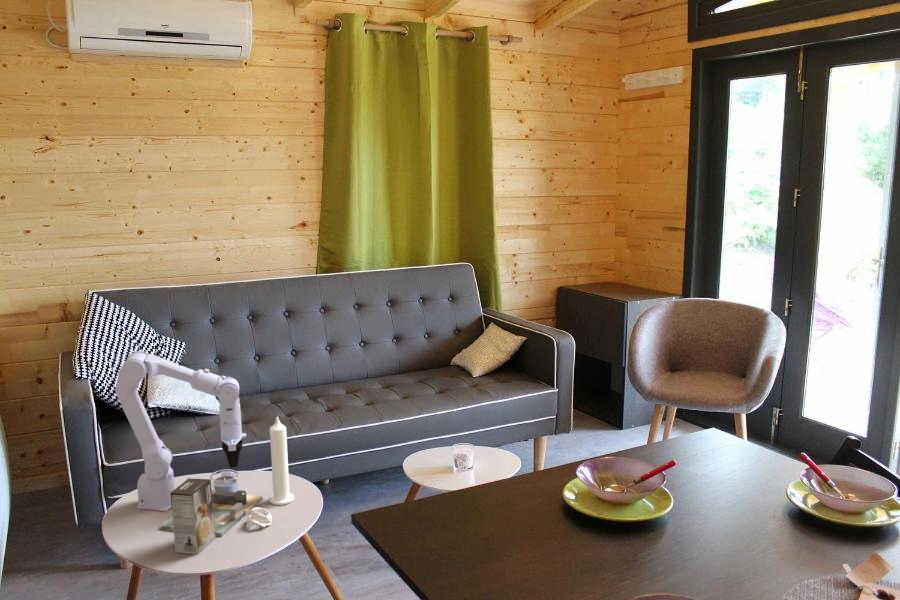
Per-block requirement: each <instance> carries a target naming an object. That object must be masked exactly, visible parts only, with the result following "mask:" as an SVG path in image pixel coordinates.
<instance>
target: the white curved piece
mask: <svg viewBox="0 0 900 600" xmlns="http://www.w3.org/2000/svg"><path fill="white" fill-rule="evenodd" d="M249 514H250V515H248V517H247V521H246V529H247V530H249V529H250V527H251V526H253V525H257V526H260V527H261V528H266V526H268V527H269V526H271V525H272V518H273V517H272V514H271V512H269V511H268V510H267V508H263V507H260V506H259V507H256V506H255V507H254V508H253V509H252V510H251V511H250V512H249Z"/></svg>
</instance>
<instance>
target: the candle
mask: <svg viewBox="0 0 900 600" xmlns="http://www.w3.org/2000/svg"><path fill="white" fill-rule="evenodd" d="M287 436H288V435H287V427H286V425H284V424H283V423H282V422H281V421H280V419H279V416H276V417H275V421H274V424H273V425H272V426H270V427H269V438H270V440H269V441H270V455H271V458H270V459H271V474H272V475H271V476H272V477H271V479H272V493H273V494H272V495H271V496H270V497H268V502H269V504H271V505H274V506H285V505H288V504H291V503H292V502H293V501H294V500H295V495H294V494H293V493H291V492H290V475H289V473H290V472H289V459H288V457H289V455H288V440H287V438H288V437H287Z"/></svg>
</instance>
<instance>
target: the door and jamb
mask: <svg viewBox="0 0 900 600" xmlns="http://www.w3.org/2000/svg"><path fill="white" fill-rule="evenodd" d="M246 499H247V503H246V504H244V505H243V503H236V504H226V503H216V502H213V514H214V526H215V537H223V536H224V535H225V534H226V533H228V531H230V530H231V529H232V528H233V527H234V526H235V525H236V524H237V523H239V522H240V521H241V520H242V519H243V518H245V516H246V515H248V514H249V513H250V512H251V511H252V509H253V508H256V506H257V505H259V503H261V502H262V501H263V496H262V495H261V496H260V495H253V494H246ZM159 527H160V530H162V531H163V530H164V531H172V532H174V528H173V517H172V516H171V517H170V518H169V519H167V520H166V521H164V523H162V524H161V525H160V526H159Z"/></svg>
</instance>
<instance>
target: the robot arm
mask: <svg viewBox="0 0 900 600" xmlns="http://www.w3.org/2000/svg"><path fill="white" fill-rule="evenodd" d="M117 374H118V375H117V380H116V384H115V389H114V390H115V395H116V397H117V398H118V402H119V403H120V405H121V408H122V410H123V412H124V414H125V416H126V419H127V420H128V423H129V424H130V427H131V429H132V431H133V433H134V436H135V437H136V440H137V442H138V444H139V446H140V448H141V453H142V454H141V455H142V456H141V457H142V459H143V462H144V473H142V474H141V475H140V476H139V478H138V479H137V485H136V486H137V487H136V488H137V498H138V505H137V506H136V508H137V509H142V510H152V511H161V512H168V511H169V510H170V509H172V506H171V495H170V493H171V492H172V491H173V490H175V489H176V487H175V478H174V477H175V475H174V469H173V468H172V467H171V463H172V461H173V453H172V451H171V450H170V449H169V448H168V447H166V445H165V444H164V442H163V441H162V439H160V438H159V436H158V434H157V432H156V429H155V427H154V425H153V423H152V420H151V418H150V415H148V413H147V410H146V408H145V405H144V404H143V401H142V399H141V397H140V394H139V393H138V391H137V387H138V385H139V384H140V382H141V381H142V380H143V379H144V378H145V377H146V375H147V374H148V376H147V378H149V379H150V378H152V377H155V376H159V375H162V376H166V377H169V378H172V379H176V380H179V381H182V382H186V383H189V385H190V386H191V388H192V389H193V390H195V391H199V392H202V393H205V394H208V395H211V396H213V397H217V398H218V401H219V407H218V410H219V424H220V425H219V426H220V441H221V449H222V450H223V452H224V454H225V456H226V459H227V463H228V466H229V468H230V469H232V468H238V466H239V459H240V453H241V450H242V449H243V439H244V438H247V433H245V432H243V431H242V430H243V429H242V427H243V426H242V412H241V403H240V402H241V401H240V397H239V396H240V384H239V382H238V380H237V379H236V378H233V377H232V376H226V375H219V374H215V373H212V372H211V371H210V369H209V368H204V369H201V368H199V369H197V370H191V369H189V368H187V367H184V366H181V365H179V364H176V363H174V362H172V361H169V360H166V359H165V358H163V357H160V356H157V355H155V354H151V353H147V352H145V351H140V350H138V351H133V352H132V353H131V354H130V355H129V356H128V357H127V359H126V360H125V361H124V363H123V364H122V366H121V367H120V369H119V370H118V372H117Z"/></svg>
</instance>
